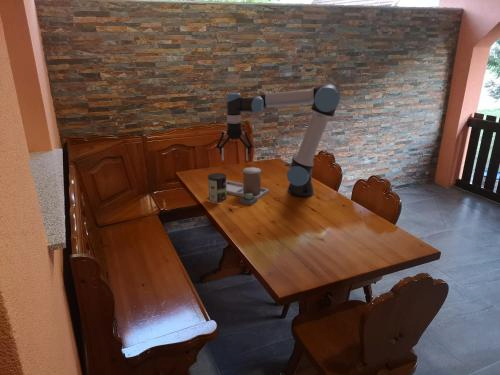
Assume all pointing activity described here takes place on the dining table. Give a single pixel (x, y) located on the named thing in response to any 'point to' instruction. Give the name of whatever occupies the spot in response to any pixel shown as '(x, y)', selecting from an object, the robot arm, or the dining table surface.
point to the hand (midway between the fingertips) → (234, 159)
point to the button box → (248, 201)
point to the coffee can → (217, 187)
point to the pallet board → (241, 189)
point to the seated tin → (252, 181)
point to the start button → (248, 196)
